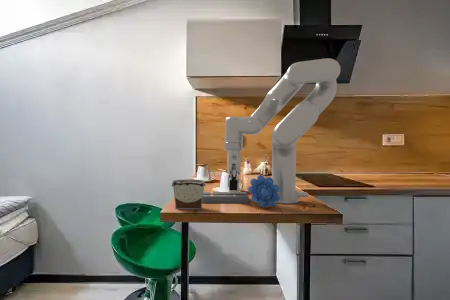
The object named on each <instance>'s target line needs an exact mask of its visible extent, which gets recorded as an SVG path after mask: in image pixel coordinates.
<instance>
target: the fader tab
mask: <svg viewBox="0 0 450 300" xmlns="http://www.w3.org/2000/svg"><path fill="white" fill-rule="evenodd" d="M237 180H238V186H237V190H229V189H228V192H229V194H231V195H236V194H239V192H240V178H239V177H237ZM229 181H230V178H229Z"/></svg>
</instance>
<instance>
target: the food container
mask: <svg viewBox="0 0 450 300" xmlns="http://www.w3.org/2000/svg"><path fill="white" fill-rule="evenodd" d="M171 187H173V196H174V207H175V210H177V209H179V210H183V209H184V210H202V207H203V203H202V199H203V192H204V190H205V189H204V188H206V187H207V186H206V182H205V180H203V179H189V178H187V179H175V180H173V181H172V183H171Z"/></svg>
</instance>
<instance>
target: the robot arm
mask: <svg viewBox="0 0 450 300" xmlns="http://www.w3.org/2000/svg"><path fill="white" fill-rule="evenodd" d="M339 63H340V62H338V61H337V60H336V59H333V58H330V57H329V58H328V57H327V58H321V59H319V58H318V59H313V60H312V59H311V60H305V61H304V60H303V61H298V62H294V63H292V64H291V65H290V66H289V67H288V69H287V70H286V72H285V73H284V74H283V76H282V77H281V78H280V79H279V80H278V81H277V82H276V83H275V85H274V86H272V88H271V89H270V90H269V91H268V92H267V94H266V95H265V97H264V99H263V101H262V102H261V104H260V105H259V106H258V108H257V109H256V110H255V111H254V112H253V113H252V114H251V116H242V117H241V116H227V117H225V120H224V151H226V152H227V153H226V159H227V160H226V166H227V174H228V178H227V180H228V181H227V186H228V191H229V190H237V186H238V180H237V178H238V176H240V175H241V152H243V151H244V149H243V147H244V143H243V142H244V135H245V134H246V135H250V136H256V135H258V134H260V133H261V132H262V130H264V128H265V127H267V125H268V124H269V123H270V121H271V120H273V118H274V117H275V116H276V115H277V114H279V113H280V112H281V110H282V109H283V108H285V106H286V105H287V104H288V103H289V102H290V100H292V98H294V96H295V95H296V94H297V93H298V92H299V91H300V90H301V88H302V87H303V86H304V85H306V84H312V83H313V84H315V86H314V88H313V90H311V92H309V94H307V96H306V97H305V98H304V99H303V100H302V101H301V102H298V103H297V104H296V105H295V107H294V108H292V109H291V110H290V112H288V113H287V115H286V116H285V117H284V118H282V120H281V121H280V122H279V123H278V124H276V126H274V128H273V129H272V132H271V178H272V179H273V181H274V183H273V184H276V185H278V186H279V192H277V193H278V194H279V195H280V200H279V201H275V204H282V205H284V204H285V205H286V204H287V205H288V204H297V203H299V202H300V198H308V192H307V191H298V190H297V189H296V187H297V186H296V181H297V180H296V179H297V175H296V173H297V172H296V171H297V142H298V141H299V140H300V139H301V138H302V137H303V135H305V134H306V133H307V131H309V130H310V129H311V128H312V127H313V126H314V125H315V123H316V122H317V121H318V119H319V116H320V115H321V113H323V111H324V110H325V109H326V108H327V107H328V106H329V105H330V104H331V103H332V101H333V100H334V98H335V96H336V94H337V88H338V85H337V79H338V78H339V76H340V74H341V65H340V64H339ZM229 178H230V181H229Z"/></svg>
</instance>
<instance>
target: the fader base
mask: <svg viewBox="0 0 450 300" xmlns="http://www.w3.org/2000/svg"><path fill="white" fill-rule="evenodd" d="M230 203H231V204H248V203H249V195H248V194H247V192H246V191H239V194H236V195H231V194H229V191H203V199H202V204H230Z"/></svg>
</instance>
